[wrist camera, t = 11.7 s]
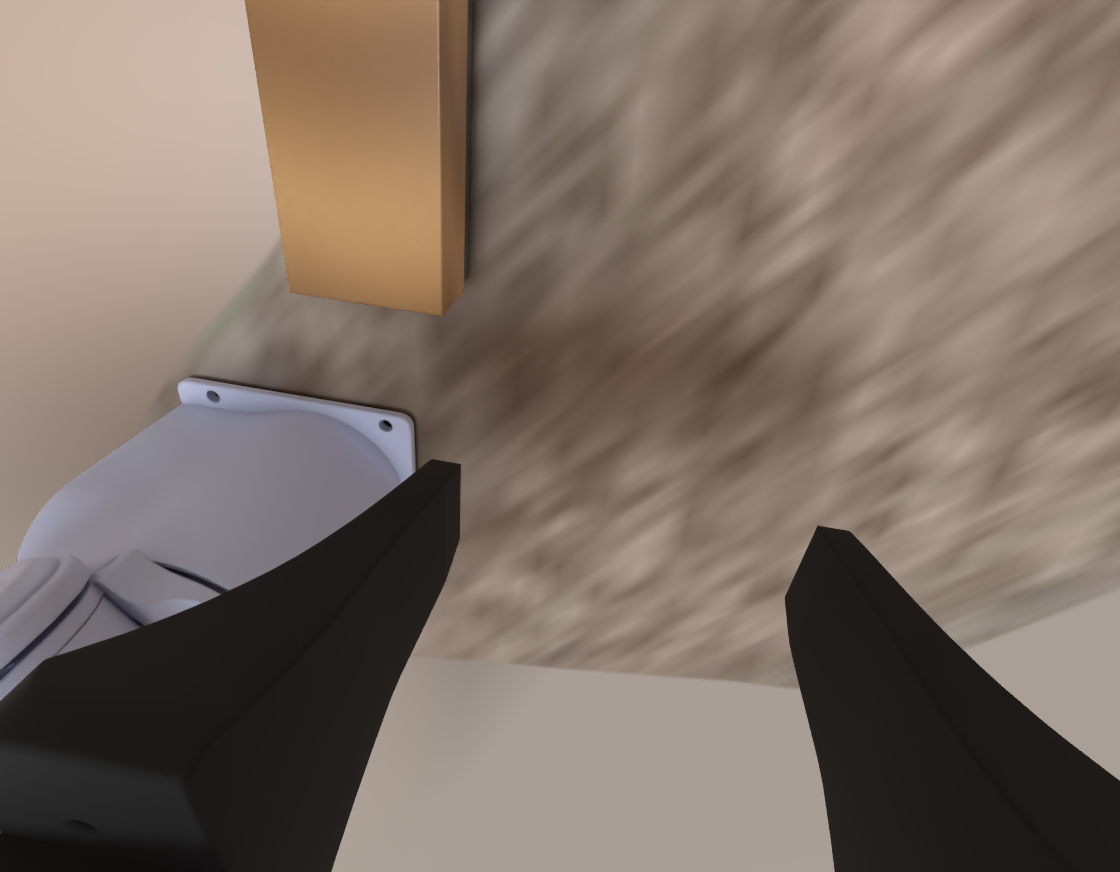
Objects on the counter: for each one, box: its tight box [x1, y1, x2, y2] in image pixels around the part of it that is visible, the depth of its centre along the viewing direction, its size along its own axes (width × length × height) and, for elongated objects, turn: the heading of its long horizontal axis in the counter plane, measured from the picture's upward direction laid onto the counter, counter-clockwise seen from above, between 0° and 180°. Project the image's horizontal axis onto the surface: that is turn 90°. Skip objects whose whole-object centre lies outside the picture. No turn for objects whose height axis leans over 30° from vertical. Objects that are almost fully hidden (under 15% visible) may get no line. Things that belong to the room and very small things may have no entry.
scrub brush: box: [245, 0, 473, 316], centre depth 15 cm, size 11×4×4 cm, turn 174°
